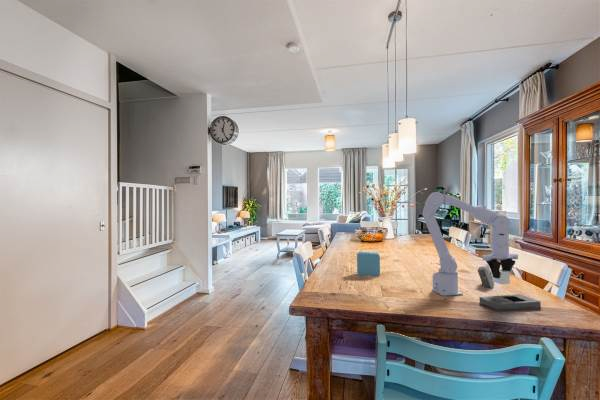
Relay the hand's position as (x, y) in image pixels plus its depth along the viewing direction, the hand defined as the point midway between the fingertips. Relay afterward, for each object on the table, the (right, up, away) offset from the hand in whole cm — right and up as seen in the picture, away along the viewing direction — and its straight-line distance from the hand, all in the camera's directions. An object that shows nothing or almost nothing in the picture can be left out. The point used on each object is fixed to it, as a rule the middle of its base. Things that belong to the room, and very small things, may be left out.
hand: (500, 277), depth 113 cm
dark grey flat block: (-3, -8, -8) cm, 12 cm away
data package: (-44, -10, +39) cm, 60 cm away
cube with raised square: (0, -2, 0) cm, 2 cm away
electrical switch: (+6, -9, +17) cm, 20 cm away
